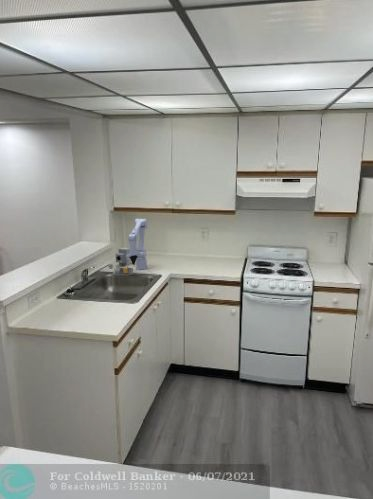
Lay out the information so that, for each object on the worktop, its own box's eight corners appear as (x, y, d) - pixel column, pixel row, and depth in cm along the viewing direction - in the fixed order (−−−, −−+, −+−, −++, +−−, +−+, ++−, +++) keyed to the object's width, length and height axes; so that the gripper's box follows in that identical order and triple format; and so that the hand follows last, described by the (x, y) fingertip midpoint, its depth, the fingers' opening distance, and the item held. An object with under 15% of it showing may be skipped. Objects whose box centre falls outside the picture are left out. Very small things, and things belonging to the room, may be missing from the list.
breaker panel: (133, 269, 314) (132, 264, 313) (132, 275, 296) (132, 270, 295) (114, 269, 312) (114, 264, 311) (112, 275, 294) (112, 270, 293)
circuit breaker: (114, 266, 322) (114, 250, 318) (124, 262, 334) (124, 247, 331) (121, 267, 318) (120, 251, 315) (131, 263, 331) (130, 248, 327)
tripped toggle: (127, 272, 299) (127, 266, 298) (127, 273, 296) (127, 267, 295) (123, 272, 299) (123, 267, 297) (123, 273, 296) (123, 268, 295)
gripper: (136, 246, 301) (136, 261, 304) (123, 249, 290) (123, 265, 293) (142, 247, 297) (142, 263, 300) (128, 250, 286) (129, 266, 289)
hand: (133, 264), depth 296 cm, fingers closed
